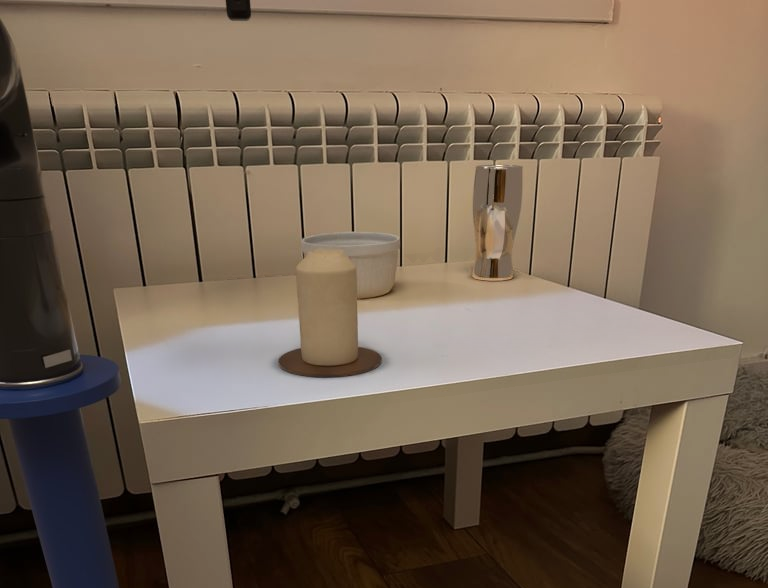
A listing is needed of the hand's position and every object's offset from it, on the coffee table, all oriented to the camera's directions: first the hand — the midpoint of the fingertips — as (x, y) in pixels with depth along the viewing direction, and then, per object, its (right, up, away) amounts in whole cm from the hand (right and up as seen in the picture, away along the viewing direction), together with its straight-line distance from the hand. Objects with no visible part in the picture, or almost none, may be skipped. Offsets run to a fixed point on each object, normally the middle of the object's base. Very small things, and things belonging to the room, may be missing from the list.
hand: (239, 19), depth 67 cm
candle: (+8, -31, +3) cm, 32 cm away
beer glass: (+30, -11, +41) cm, 52 cm away
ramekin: (+9, -16, +33) cm, 37 cm away
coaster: (+8, -31, +3) cm, 32 cm away
